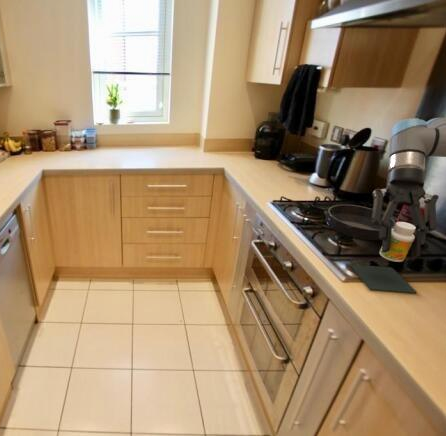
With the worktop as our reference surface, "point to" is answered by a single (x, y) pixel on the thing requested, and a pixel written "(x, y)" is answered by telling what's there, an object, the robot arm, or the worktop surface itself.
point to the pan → (354, 221)
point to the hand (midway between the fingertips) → (400, 253)
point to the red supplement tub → (406, 215)
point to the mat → (382, 279)
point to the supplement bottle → (400, 242)
